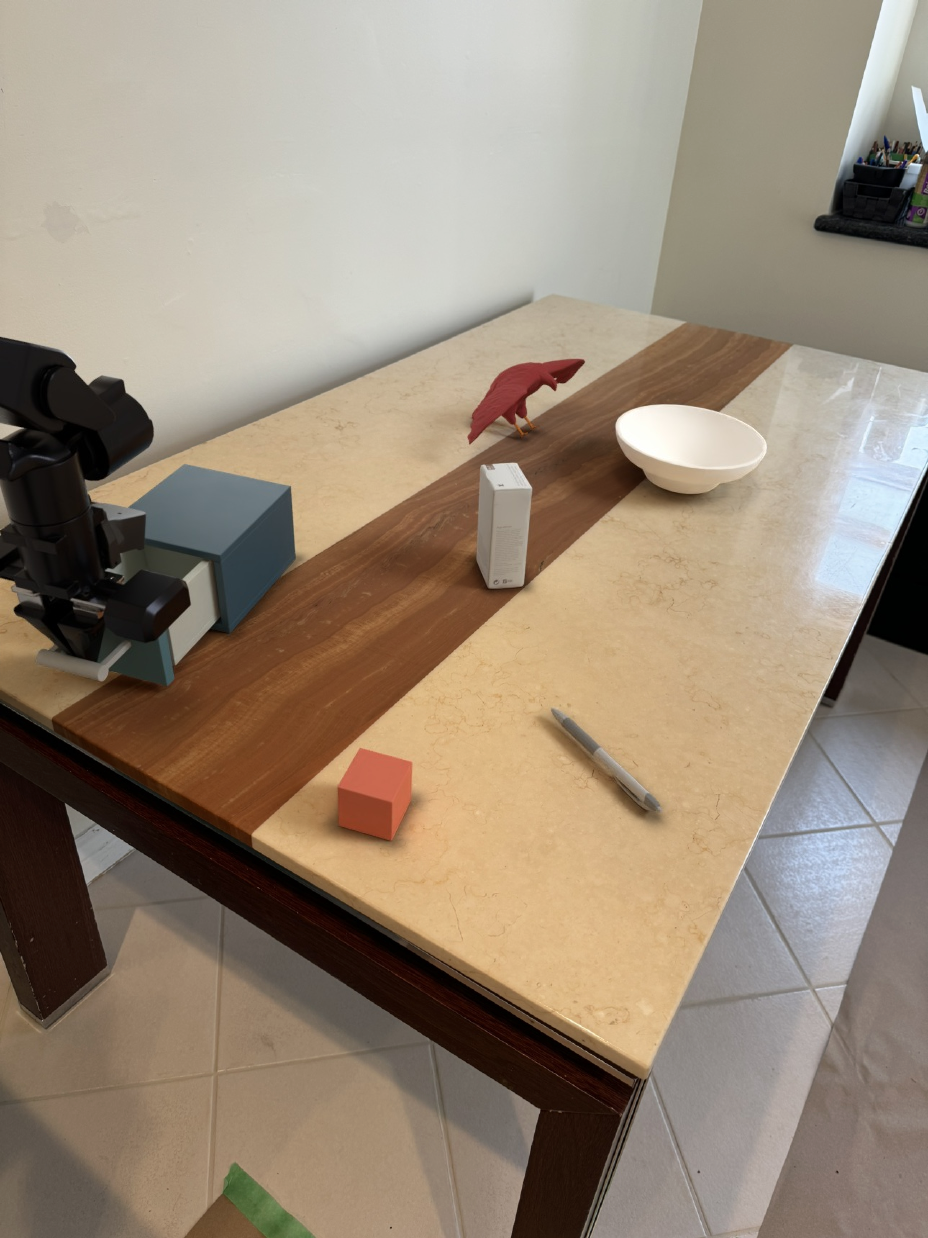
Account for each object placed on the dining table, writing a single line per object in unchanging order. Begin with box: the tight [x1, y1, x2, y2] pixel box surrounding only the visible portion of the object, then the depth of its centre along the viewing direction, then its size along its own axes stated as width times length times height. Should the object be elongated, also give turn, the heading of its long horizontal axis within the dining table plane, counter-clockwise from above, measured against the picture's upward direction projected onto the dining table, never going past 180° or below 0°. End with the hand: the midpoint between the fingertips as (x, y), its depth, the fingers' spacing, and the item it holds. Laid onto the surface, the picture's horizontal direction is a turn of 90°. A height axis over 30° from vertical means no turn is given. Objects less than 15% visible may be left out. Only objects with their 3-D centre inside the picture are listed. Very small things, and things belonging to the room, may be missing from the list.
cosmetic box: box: [476, 462, 533, 590], centre depth 93 cm, size 6×4×12 cm
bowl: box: [615, 403, 768, 495], centre depth 116 cm, size 20×20×7 cm
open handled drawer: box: [35, 545, 221, 687], centre depth 80 cm, size 18×11×7 cm, turn 163°
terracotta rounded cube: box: [336, 747, 413, 842], centre depth 67 cm, size 4×4×4 cm
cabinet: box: [127, 463, 297, 634], centre depth 90 cm, size 15×13×9 cm
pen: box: [550, 707, 663, 814], centre depth 74 cm, size 1×14×1 cm, turn 34°
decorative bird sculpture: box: [467, 358, 586, 446], centre depth 125 cm, size 28×9×15 cm
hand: (89, 666), depth 75 cm, fingers closed, pressing on open handled drawer
